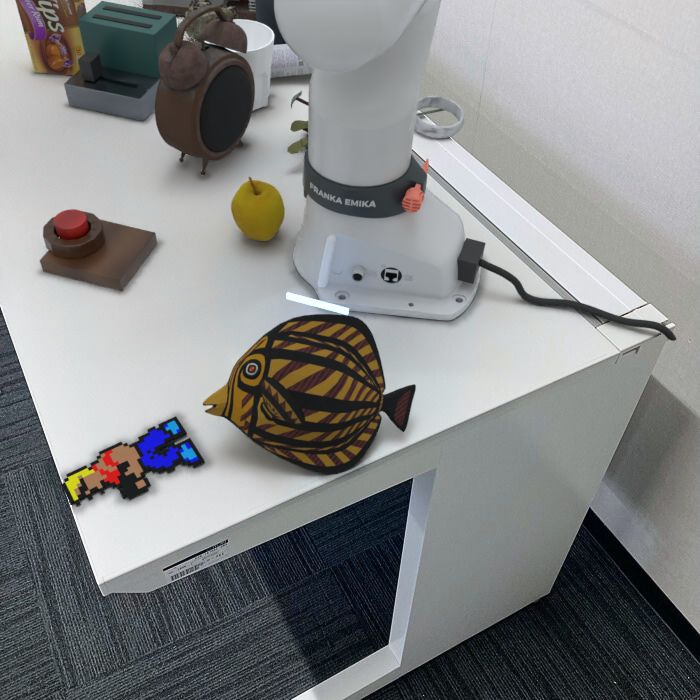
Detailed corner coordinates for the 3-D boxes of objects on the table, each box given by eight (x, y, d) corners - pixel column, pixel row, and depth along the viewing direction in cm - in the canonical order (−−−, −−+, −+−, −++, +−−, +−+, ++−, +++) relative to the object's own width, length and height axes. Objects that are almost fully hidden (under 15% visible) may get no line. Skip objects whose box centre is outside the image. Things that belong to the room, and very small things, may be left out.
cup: (278, 84, 120) (277, 21, 112) (272, 118, 113) (270, 53, 106) (213, 80, 120) (208, 17, 112) (204, 114, 113) (197, 49, 106)
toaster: (183, 78, 120) (175, 13, 113) (143, 121, 111) (132, 54, 104) (113, 64, 122) (101, -1, 115) (68, 105, 113) (52, 38, 106)
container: (322, 34, 120) (226, 43, 119) (326, 49, 117) (227, 59, 116) (324, 62, 123) (230, 71, 122) (327, 78, 120) (231, 87, 119)
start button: (95, 225, 90) (92, 213, 89) (79, 243, 88) (75, 231, 86) (67, 218, 91) (64, 206, 89) (50, 236, 88) (47, 224, 87)
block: (157, 243, 93) (153, 220, 91) (121, 291, 87) (116, 268, 85) (73, 223, 95) (67, 200, 92) (33, 269, 89) (25, 245, 86)
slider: (103, 73, 113) (99, 53, 110) (94, 81, 111) (90, 62, 109) (91, 71, 113) (86, 51, 111) (81, 79, 111) (77, 59, 109)
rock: (216, -15, 131) (167, -3, 126) (250, 2, 127) (200, 16, 122) (217, 18, 135) (170, 31, 130) (250, 35, 131) (203, 50, 126)
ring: (403, 117, 111) (401, 129, 112) (457, 134, 110) (454, 146, 111) (420, 88, 115) (418, 99, 117) (471, 104, 114) (468, 115, 116)
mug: (244, 42, 128) (240, -27, 120) (295, 34, 131) (295, -34, 123) (270, 76, 121) (268, 4, 113) (323, 67, 124) (325, -4, 116)
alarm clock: (203, 191, 101) (187, 43, 86) (159, 173, 103) (136, 25, 88) (266, 140, 109) (261, -2, 95) (224, 124, 112) (213, -17, 97)
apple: (240, 216, 97) (236, 162, 91) (290, 223, 97) (289, 169, 91) (227, 249, 93) (222, 194, 87) (279, 256, 93) (278, 202, 87)
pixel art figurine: (176, 418, 75) (56, 474, 70) (176, 416, 75) (55, 472, 70) (204, 462, 72) (80, 524, 67) (204, 460, 72) (79, 522, 67)
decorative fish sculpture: (322, 523, 68) (246, 492, 76) (425, 404, 76) (346, 388, 84) (248, 406, 61) (173, 386, 70) (369, 288, 69) (289, 283, 77)
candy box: (98, 64, 122) (78, -37, 110) (90, 77, 119) (68, -25, 108) (42, 59, 122) (16, -42, 111) (33, 73, 119) (5, -30, 108)
